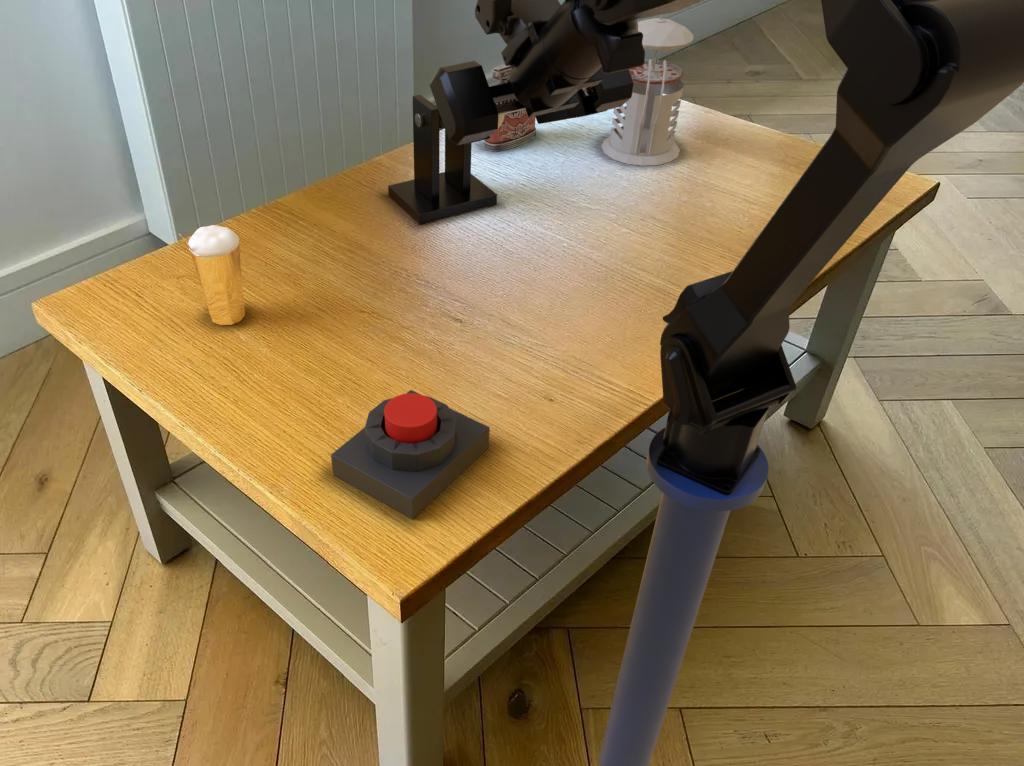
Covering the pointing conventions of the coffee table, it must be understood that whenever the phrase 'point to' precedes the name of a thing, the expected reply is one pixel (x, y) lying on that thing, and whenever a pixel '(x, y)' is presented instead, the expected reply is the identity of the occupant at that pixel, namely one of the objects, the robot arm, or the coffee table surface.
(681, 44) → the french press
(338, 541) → the coffee table surface
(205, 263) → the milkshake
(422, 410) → the button
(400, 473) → the control block
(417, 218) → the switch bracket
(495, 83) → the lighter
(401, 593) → the coffee table surface
